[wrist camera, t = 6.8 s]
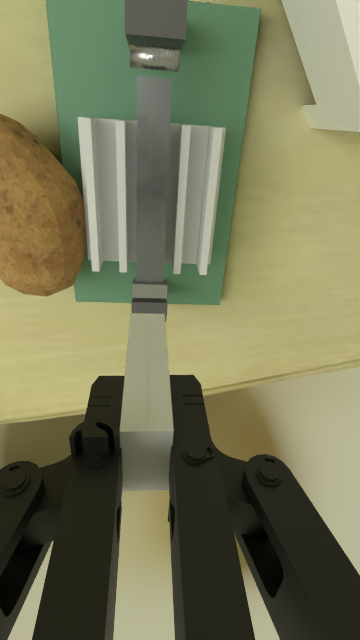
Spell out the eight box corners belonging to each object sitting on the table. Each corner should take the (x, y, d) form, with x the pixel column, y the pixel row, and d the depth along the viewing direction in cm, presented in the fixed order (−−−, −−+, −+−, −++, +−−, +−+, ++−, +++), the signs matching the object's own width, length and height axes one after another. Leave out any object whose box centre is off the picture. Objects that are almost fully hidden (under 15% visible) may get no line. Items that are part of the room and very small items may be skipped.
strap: (130, 45, 21) (129, 40, 20) (179, 49, 22) (180, 45, 20) (132, 290, 29) (131, 297, 28) (167, 291, 30) (168, 298, 28)
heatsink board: (50, -8, 24) (12, -54, 18) (255, 14, 26) (291, -22, 19) (78, 294, 37) (62, 335, 30) (217, 298, 38) (231, 337, 31)
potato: (65, 99, 28) (35, 94, 21) (110, 262, 35) (100, 298, 28) (-52, 122, 28) (-119, 124, 21) (17, 278, 35) (-16, 317, 28)
